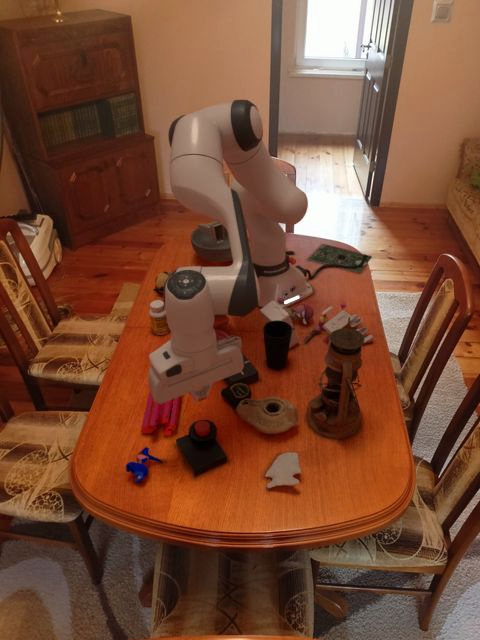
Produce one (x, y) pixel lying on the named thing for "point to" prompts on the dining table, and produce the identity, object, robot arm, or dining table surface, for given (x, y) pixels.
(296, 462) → the arrowhead
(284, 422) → the oil lamp
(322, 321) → the candy
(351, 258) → the circuit board
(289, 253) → the knife
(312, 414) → the lantern
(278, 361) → the cup
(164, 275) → the toy
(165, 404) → the crystal
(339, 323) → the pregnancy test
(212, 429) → the button box
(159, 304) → the supplement bottle
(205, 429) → the red button
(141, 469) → the figurine
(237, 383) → the tape measure
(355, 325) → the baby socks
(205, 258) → the bowl
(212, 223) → the toilet paper hanger
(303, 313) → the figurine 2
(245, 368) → the dial panel
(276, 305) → the ink box
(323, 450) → the dining table surface
